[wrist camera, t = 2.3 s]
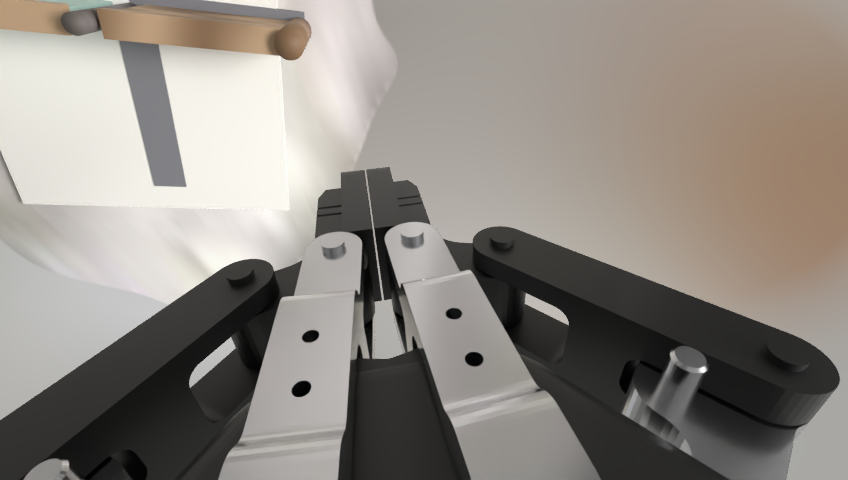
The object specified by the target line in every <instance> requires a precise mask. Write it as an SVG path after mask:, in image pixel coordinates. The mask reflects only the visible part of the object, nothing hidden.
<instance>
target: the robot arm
mask: <svg viewBox="0 0 848 480" xmlns="http://www.w3.org/2000/svg"><path fill="white" fill-rule="evenodd" d="M367 178H368V185H369V192H370V200H371V207H372V214H373V222H374V229H375V237H376V244H377V251H378V259H379V266H380V273H381V280H382V288H383V294H384V300H387V299H392V304H393V311H394V320H395V325H396V328H397V332H398V336H399V340H400V343H401V347H402V350H403V354H401V355H399V356H396V357H393V358H390V359H375V321H374V313H375V303H374V302H375V301H381V300H382V298H381V291H380V283H379V275H378V268H377V260H376V252H375V245H374V237H373V229H372V222H371V215H370V207H369V200H368V193H367V186H366V179H365V172H364V170H360V171H351V172H342V173H341V188H339V189H331V190H326V191H325V192H324V193H323V194H322V195H321V196H320V197H319V199H318V210H317V221H316V233H315V239H314V240H312V241H311V242H310V243H309V244H308V245H307V247H306V249H305V252H304V256H303V260H302V261H300V262H298V263H296V264H294V265H292V266H289V267H286V268H283V269H280V270H277V271H275V272H274V270H273V267H272V265H271V264H270V263H268V262H267V261H264V260H260V259H248V260H242V261H238V262H235V263H232V264H230V265H228V266H226V267H224V268H222V269H221V270H219V271H218V272H216V273H215V274H213V275H212V276H211V277H209V278H208V279H206V280H205V281H203V282H202V283H200V284H199V285H197V286H196V287H194V288H193V289H192V290H190V291H189V292H187V293H186V294H184V295H183V296H181V297H180V298H178V299H177V300H175V301H174V302H173V303H171V304H170V305H168V306H167V307H165V308H164V309H162V310H161V311H159V312H158V313H156V314H155V315H154V316H152V317H151V318H150V319H148V320H146V321H145V322H143V323H142V324H140V325H139V326H137V327H136V328H135V329H133V330H132V331H130V332H129V333H127V334H126V335H124V336H123V337H121V338H120V339H118V340H117V341H116V342H114V343H113V344H111V345H110V346H108V347H107V348H105V349H104V350H102V351H101V352H100V353H98V354H97V355H95V356H94V357H92V358H91V359H89V360H88V361H86V362H85V363H83V364H82V365H80V366H79V367H78V368H76V369H75V370H73V371H72V372H70V373H69V374H67V375H66V376H64V377H63V378H62V379H60V380H59V381H57V382H56V383H54V384H53V385H51V386H50V387H48V388H47V389H45V390H44V391H43V392H41V393H40V394H38V395H37V396H35V397H34V398H32V399H31V400H29V401H28V402H26V403H25V404H24V405H22V406H21V407H19V408H18V409H16V410H15V411H13V412H12V413H10V414H9V415H8V416H6V417H4V418H3V419H2V420H0V480H786V478H787V473H788V468H789V463H790V457H791V452H792V447H793V442H794V440H795V439H796V438H797V437H798V435H799V434H800V433H801V431H802V430H803V429H804V428H805V427H806V425H807V424H808V423H809V422H810V420H811V419H812V418H813V417H814V415H815V414H816V413H817V412H818V411H819V409H820V408H821V407H822V406H823V404H824V403H825V402H826V401H827V399H828V398H829V397H830V395H831V394H832V393H833V392H834V391H835V389H836V388H837V386H838V384H839V381H840V378H839V373H838V371H837V369H836V367H835V365H834V364H833V363H832V361H831V360H830V359H829V358H828V357H827V356H826V355H825V354H824V353H822V352H821V351H820V350H819V349H817V348H816V347H815V346H813V345H811V344H810V343H808V342H806V341H805V340H803V339H801V338H798V337H796V336H794V335H792V334H789V333H787V332H784V331H781V330H779V329H776V328H773V327H771V326H768V325H765V324H763V323H760V322H758V321H755V320H752V319H750V318H747V317H745V316H742V315H739V314H737V313H734V312H731V311H729V310H726V309H724V308H721V307H718V306H716V305H713V304H710V303H708V302H705V301H703V300H700V299H697V298H695V297H692V296H690V295H687V294H684V293H682V292H679V291H677V290H674V289H671V288H668V287H666V286H664V285H661V284H658V283H656V282H653V281H650V280H648V279H645V278H643V277H640V276H637V275H634V274H632V273H630V272H627V271H624V270H622V269H619V268H616V267H614V266H611V265H609V264H606V263H603V262H601V261H598V260H595V259H593V258H590V257H588V256H585V255H582V254H580V253H577V252H574V251H572V250H569V249H567V248H564V247H561V246H559V245H556V244H554V243H551V242H548V241H546V240H543V239H541V238H538V237H535V236H532V235H530V234H527V233H525V232H522V231H520V230H517V229H514V228H509V227H490V228H487V229H484V230H481V231H480V232H478V233H477V234H476V235H475V236H474V238H473V243H458V242H452V241H448V240H445V239H443V238H442V237H441V235H440V233H439V231H438V230H437V229H436V228H435V227H433V226H432V225H431V224H430V222H429V219H428V216H427V213H426V210H425V208H424V205H423V202H422V199H421V197H420V193H419V191H418V188H417V186H415V185H414V184H413V183H411V182H410V181H408V180H406V181H398V182H393V179H392V176H391V172H390V168H389V167H385V168H376V169H368V170H367ZM526 293H528V294H530V295H532V296H534V297H536V298H538V299H540V300H542V301H544V302H546V303H549V304H551V305H553V306H555V307H557V308H558V309H560V310H561V311H562V312H563V313H564V314H565V315H566V317H567V319H568V321H569V326H568V325H566V324H564V323H562V322H560V321H558V320H556V319H554V318H552V317H550V316H548V315H546V314H544V313H542V312H540V311H538V310H536V309H534V308H532V307H530V306H528V305H526V304H525V295H526ZM230 337H232V340H233V342H234V344H235V347H236V349H235V350H233V351H232V352H231V353H230V354H229V355H228V356H227V357H225V358H224V359H223V360H222V361H221V362H220V363H219V364H217V365H216V366H215V367H214V368H213V369H212V370H211V371H209V372H208V373H207V374H206V375H205V376H204V377H203V378H201V379H200V380H199V381H198V382H197V383H196V384H195V385H194V386H192V387H191V388H190V387H189V379H190V376H191V374H192V372H193V370H194V369H195V367H196V366H197V365H198V364H199V363H200V362H201V361H203V360H204V359H205V358H206V357H207V356H209V355H210V354H211V353H212V352H213V351H214V350H216V349H217V348H218V347H219V346H220V345H221V344H223V343H224V342H225V341H226V340H228V339H229V338H230Z"/></svg>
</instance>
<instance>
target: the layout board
mask: <svg viewBox="0 0 848 480" xmlns="http://www.w3.org/2000/svg"><path fill="white" fill-rule="evenodd" d="M106 1H112V2H113V5H117V4H123V3H133V4H135V5H136V6H140V5H154V6H163V7H172V8H181V9H190V10H199V11H208V12H217V13H226V14H234V15H243V16H252V17H261V18H270V19H279V20H288V21H290V20H291V19H293V18H296V17H299V18H303V19H304V12H300V11H291V10H283V9H278V5H277V0H106ZM0 151H1V153H2V155H3V158H4V160H5V162H6V165H7V167H8V169H9V172H10V174H11V176H12V179H13V181H14V183H15V185H16V188H17V190H18V192H19V195H20V197H21V199H22V202H23V204H49V205H88V206H127V207H166V208H205V209H244V210H283V211H289V194H288V177H287V159H286V142H285V125H284V108H283V91H282V74H281V56H276V55H266V54H255V53H245V52H234V51H224V50H214V49H203V48H193V47H182V46H172V45H161V44H151V43H141V42H130V41H120V40H109V39H104V37H103V33H102V30H101V31H97V32H93V33H89V34H85V35H81V36H75V35H70V36H68V35H57V34H47V33H37V32H26V31H16V30H5V29H0Z"/></svg>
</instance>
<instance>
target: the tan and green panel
mask: <svg viewBox="0 0 848 480" xmlns="http://www.w3.org/2000/svg"><path fill="white" fill-rule="evenodd" d="M110 5H113V2H112V1H106V0H0V29H5V30H16V31H26V32H37V33H47V34H57V35H68V36H70V35H72V34H70V33H69V32H67V31H66V30H65V29H64V27H63V26H62V23H61V16H62V15H63V14H64V13H66V12H72V11H78V10H85V9H91V8H97V7H104V6H110Z"/></svg>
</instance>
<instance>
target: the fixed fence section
mask: <svg viewBox="0 0 848 480" xmlns="http://www.w3.org/2000/svg"><path fill="white" fill-rule="evenodd" d="M61 23H62V26H63V27H64V29H65V30H66V31H67V32H69V33H70V34H72V35H75V36H81V35H85V34H89V33H93V32H97V31H101V30H102V33H103V37H104V39H109V40H120V41H130V42H141V43H151V44H161V45H172V46H182V47H193V48H203V49H214V50H224V51H234V52H245V53H255V54H266V55H276V56H281V57H282V58H284V59H286V60H296V59H298V58H299V57H300V56H301V55H302V53H303V51H304V49H305V47H306V45H307V43H308V41H309V38H310V36H311V27H310V25H309V23H308V22H307V21H306V20H305V19H303V18H299V17H296V18H293V19H291V20H290V21H288V20H279V19H270V18H261V17H252V16H243V15H234V14H226V13H217V12H208V11H199V10H190V9H181V8H172V7H163V6H154V5H140V6H136V5H135V4H133V3H123V4H117V5H110V6H104V7H97V8H91V9H85V10H78V11H72V12H66V13H64V14H63V15H62V16H61Z"/></svg>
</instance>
